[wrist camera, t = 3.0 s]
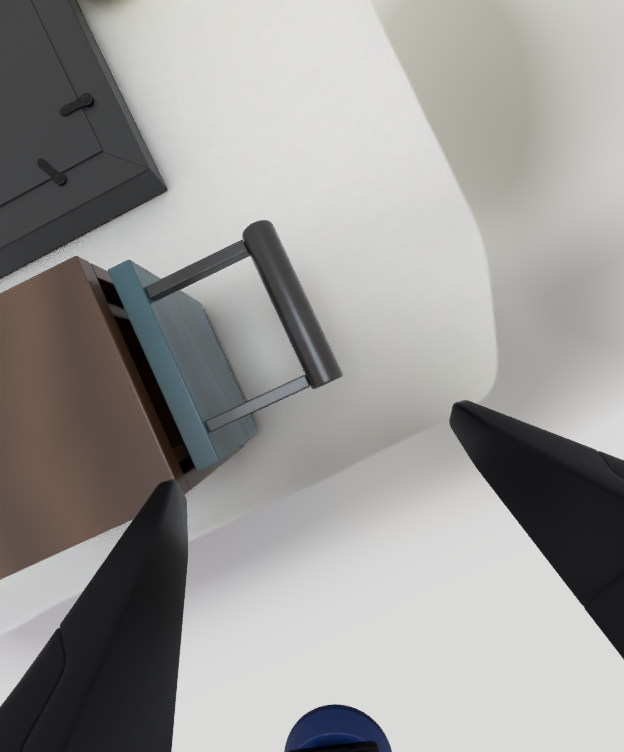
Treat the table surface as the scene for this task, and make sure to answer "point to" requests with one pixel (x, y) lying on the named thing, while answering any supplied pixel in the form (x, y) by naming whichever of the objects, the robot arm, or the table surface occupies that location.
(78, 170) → the picture frame
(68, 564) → the table surface
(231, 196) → the table surface
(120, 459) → the cabinet
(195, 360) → the drawer
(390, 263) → the table surface
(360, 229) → the table surface
